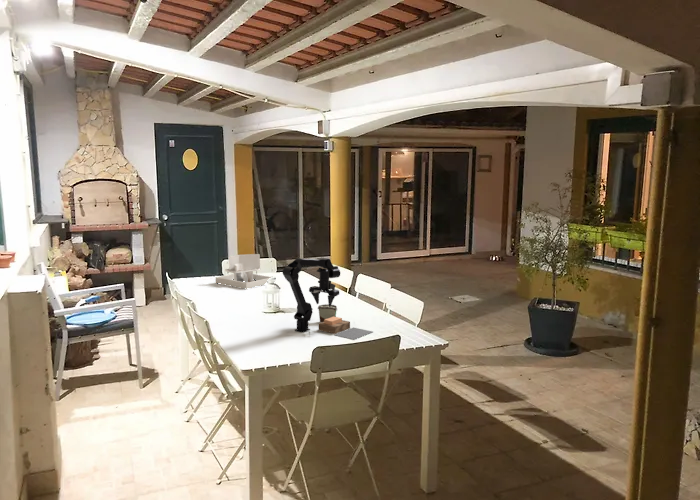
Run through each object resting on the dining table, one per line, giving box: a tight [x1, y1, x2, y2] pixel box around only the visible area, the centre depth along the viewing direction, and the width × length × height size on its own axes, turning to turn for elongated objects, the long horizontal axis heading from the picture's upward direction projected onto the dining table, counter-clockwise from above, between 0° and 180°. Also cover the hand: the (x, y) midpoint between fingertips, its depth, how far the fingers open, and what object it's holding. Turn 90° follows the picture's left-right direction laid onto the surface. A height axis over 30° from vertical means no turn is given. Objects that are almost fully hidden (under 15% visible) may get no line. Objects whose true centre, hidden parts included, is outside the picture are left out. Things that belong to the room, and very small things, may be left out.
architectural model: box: [224, 253, 261, 283], centre depth 447 cm, size 28×21×23 cm
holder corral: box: [215, 273, 272, 290], centre depth 448 cm, size 29×36×5 cm
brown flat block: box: [318, 319, 351, 335], centre depth 321 cm, size 14×12×4 cm
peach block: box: [324, 316, 343, 325], centre depth 321 cm, size 9×6×2 cm, turn 143°
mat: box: [334, 327, 374, 341], centre depth 313 cm, size 18×14×1 cm
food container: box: [317, 303, 338, 323], centre depth 337 cm, size 12×6×10 cm, turn 72°
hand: (323, 305), depth 328 cm, fingers open, 9 cm apart
